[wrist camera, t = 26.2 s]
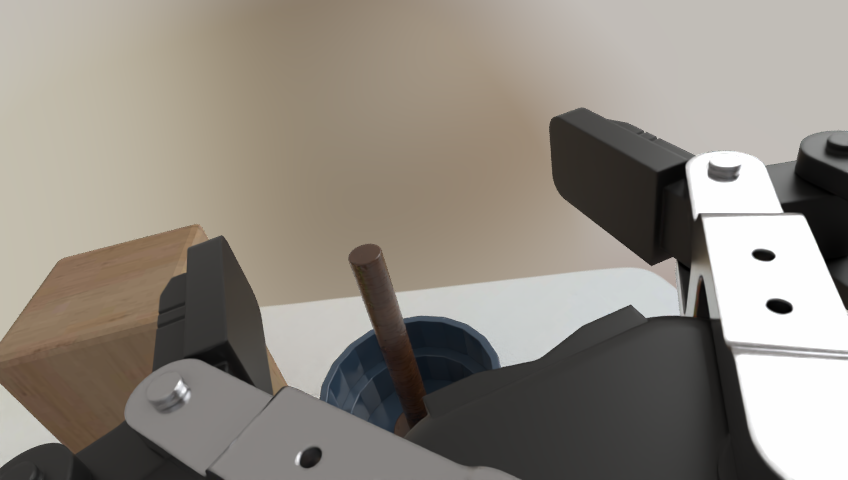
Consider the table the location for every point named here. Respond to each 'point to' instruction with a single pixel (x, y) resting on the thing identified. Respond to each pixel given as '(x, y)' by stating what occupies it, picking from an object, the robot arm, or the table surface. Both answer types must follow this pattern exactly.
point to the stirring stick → (390, 333)
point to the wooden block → (95, 335)
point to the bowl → (436, 359)
